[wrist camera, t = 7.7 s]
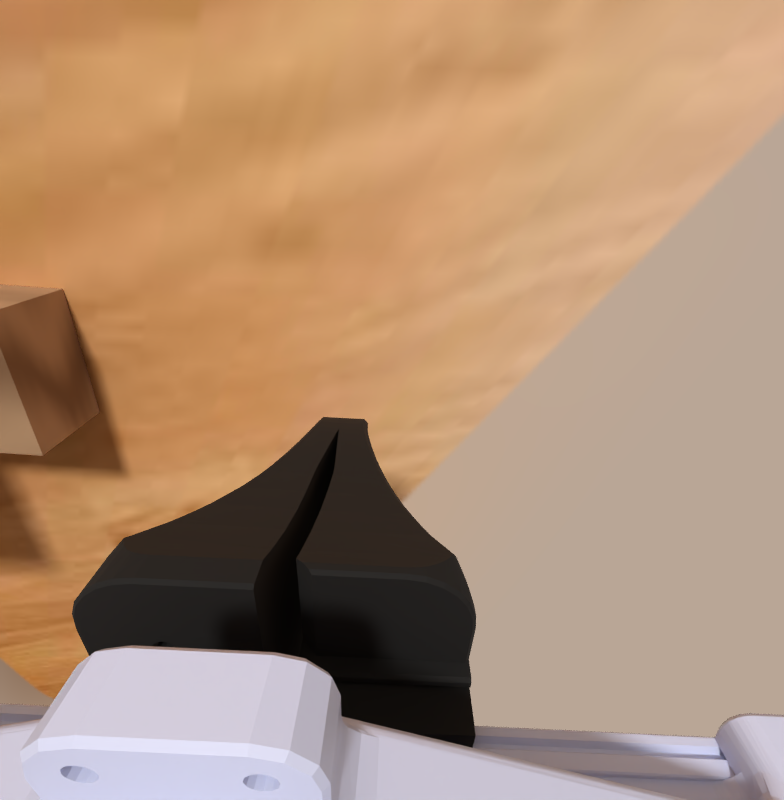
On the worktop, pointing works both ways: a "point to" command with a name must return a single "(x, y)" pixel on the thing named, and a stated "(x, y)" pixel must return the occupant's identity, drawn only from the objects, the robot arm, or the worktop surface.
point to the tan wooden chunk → (40, 371)
